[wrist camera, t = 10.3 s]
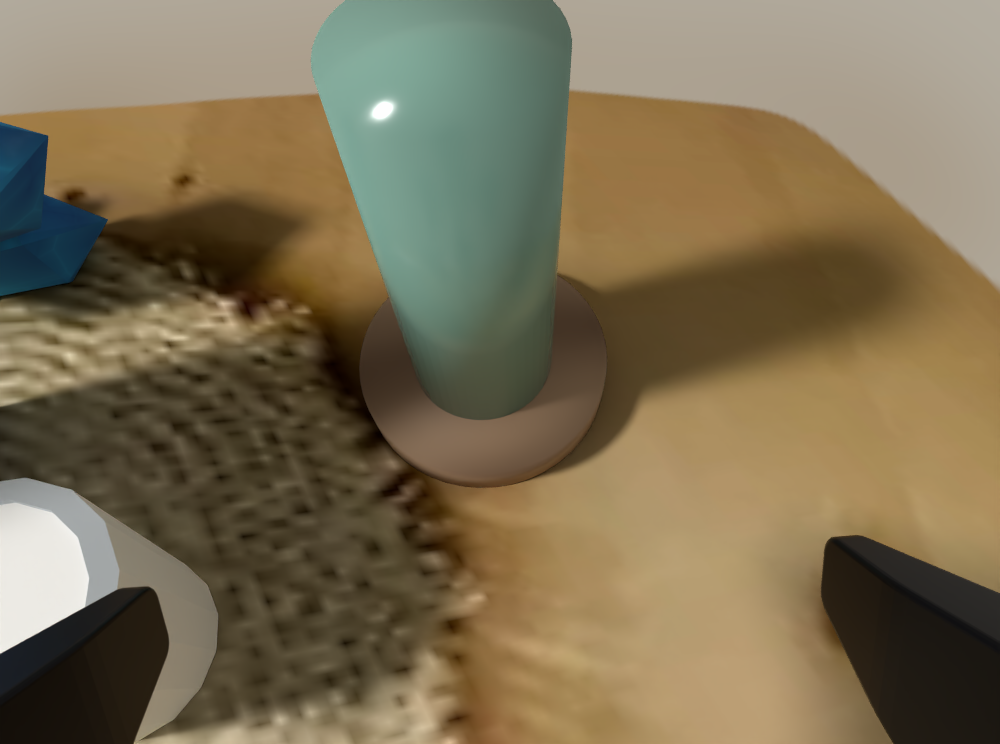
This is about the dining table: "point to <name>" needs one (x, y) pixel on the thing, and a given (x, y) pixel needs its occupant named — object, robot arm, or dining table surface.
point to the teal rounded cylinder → (457, 180)
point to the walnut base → (497, 442)
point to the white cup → (98, 583)
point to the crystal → (37, 219)
